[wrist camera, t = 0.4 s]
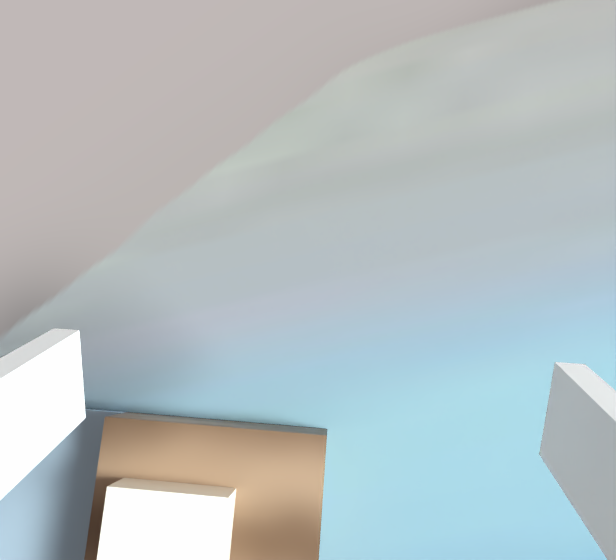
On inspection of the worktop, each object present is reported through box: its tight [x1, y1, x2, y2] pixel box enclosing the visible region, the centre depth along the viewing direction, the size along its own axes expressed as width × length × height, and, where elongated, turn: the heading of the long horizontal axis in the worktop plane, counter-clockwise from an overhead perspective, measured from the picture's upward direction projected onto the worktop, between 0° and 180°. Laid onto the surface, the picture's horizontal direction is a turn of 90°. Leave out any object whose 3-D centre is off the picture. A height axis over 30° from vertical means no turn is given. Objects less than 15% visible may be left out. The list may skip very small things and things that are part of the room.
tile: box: [97, 478, 236, 560], centre depth 24 cm, size 6×6×2 cm
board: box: [84, 412, 327, 560], centre depth 27 cm, size 12×12×3 cm
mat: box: [0, 409, 125, 560], centre depth 28 cm, size 12×11×1 cm
